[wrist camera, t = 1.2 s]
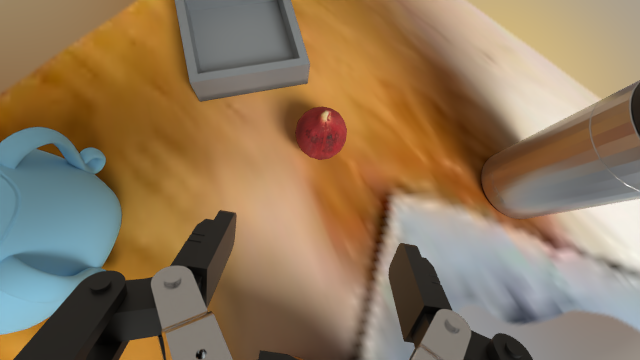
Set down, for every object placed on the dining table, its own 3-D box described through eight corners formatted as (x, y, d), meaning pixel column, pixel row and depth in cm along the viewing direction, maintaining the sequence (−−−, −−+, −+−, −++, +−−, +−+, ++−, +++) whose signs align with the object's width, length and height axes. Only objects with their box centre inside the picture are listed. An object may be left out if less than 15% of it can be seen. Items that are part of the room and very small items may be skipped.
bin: (283, 0, 42) (283, -26, 38) (307, 83, 39) (309, 63, 35) (182, 12, 40) (172, -15, 36) (199, 101, 36) (189, 82, 32)
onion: (344, 163, 36) (360, 137, 29) (299, 171, 35) (303, 146, 28) (334, 121, 38) (347, 86, 30) (291, 128, 37) (292, 93, 29)
